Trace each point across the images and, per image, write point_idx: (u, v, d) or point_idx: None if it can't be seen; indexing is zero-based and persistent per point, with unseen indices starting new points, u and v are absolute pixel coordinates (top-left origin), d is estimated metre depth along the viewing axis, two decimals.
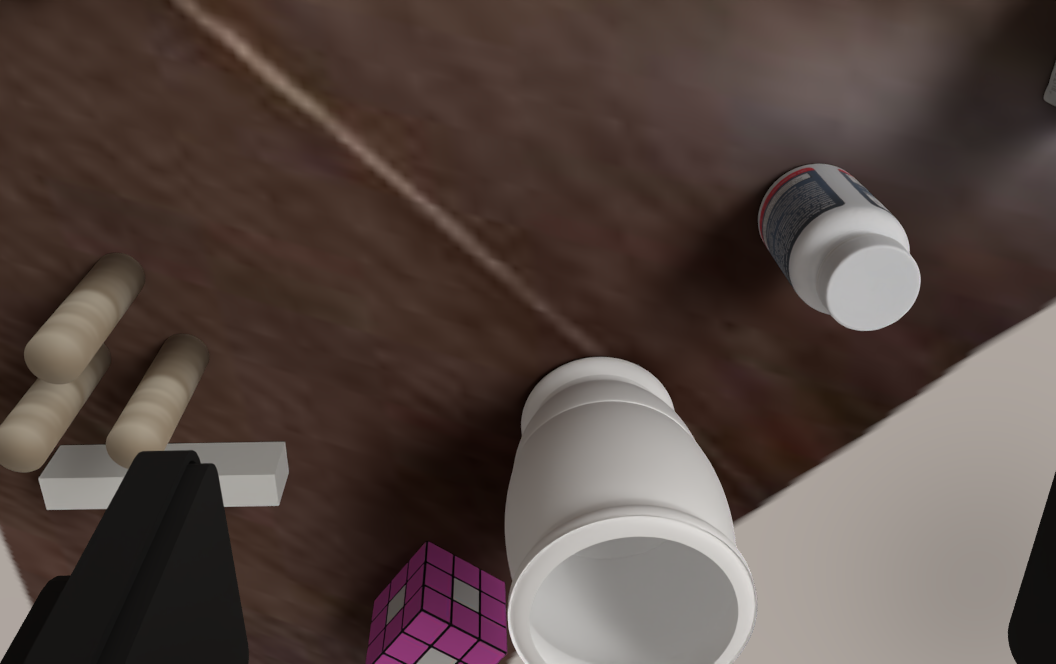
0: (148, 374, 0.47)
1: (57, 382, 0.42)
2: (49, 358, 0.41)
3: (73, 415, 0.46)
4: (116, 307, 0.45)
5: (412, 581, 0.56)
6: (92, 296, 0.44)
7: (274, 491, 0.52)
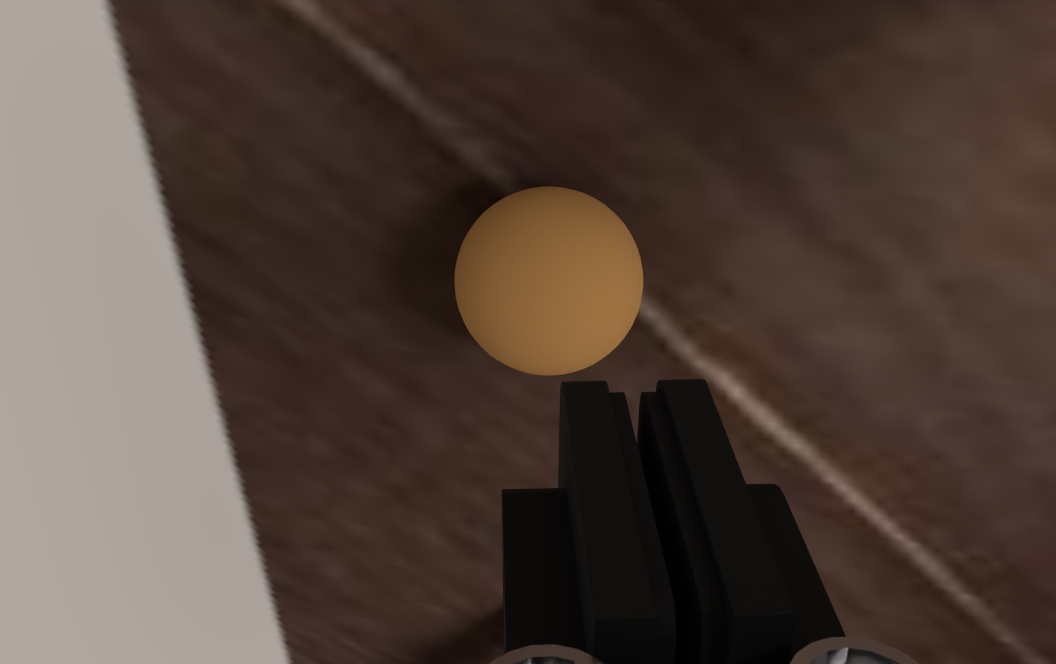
0: None
1: None
2: None
3: None
4: None
5: None
6: None
7: None
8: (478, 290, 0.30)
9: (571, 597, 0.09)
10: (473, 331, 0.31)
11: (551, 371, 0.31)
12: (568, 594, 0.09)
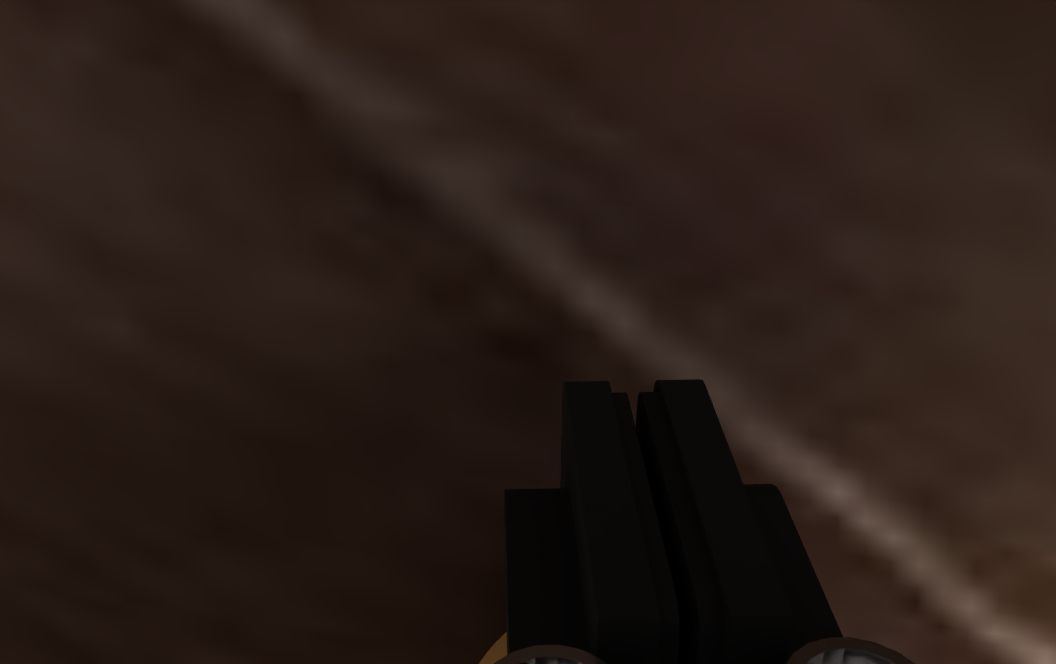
0: None
1: None
2: None
3: None
4: None
5: None
6: None
7: None
8: None
9: (574, 597, 0.09)
10: None
11: None
12: (571, 594, 0.09)
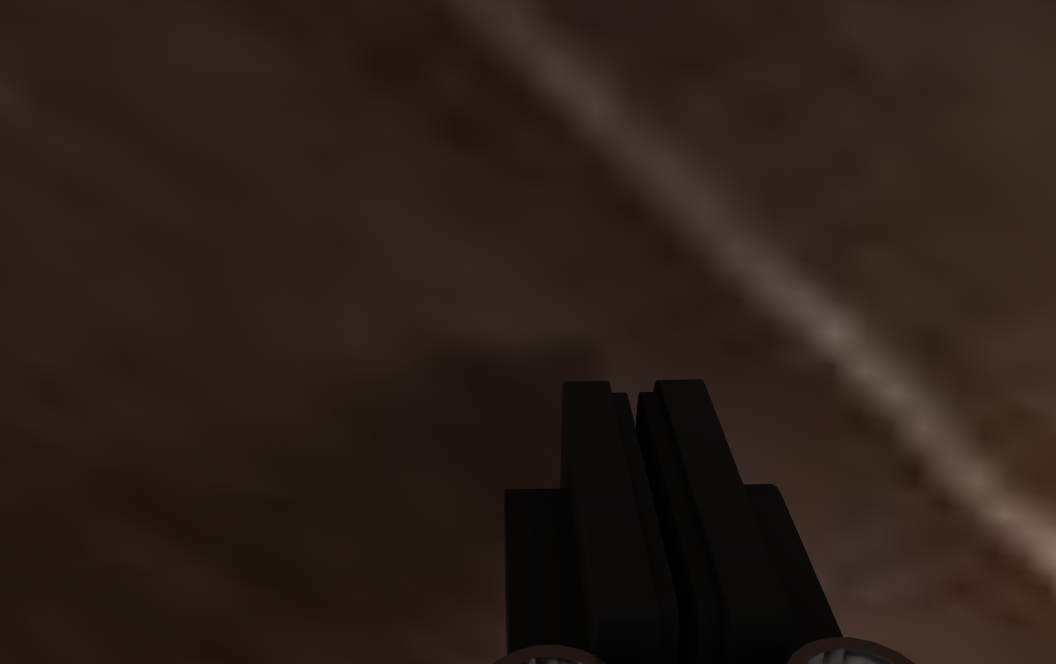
0: None
1: None
2: None
3: None
4: None
5: None
6: None
7: None
8: None
9: (574, 597, 0.09)
10: None
11: None
12: (571, 594, 0.09)
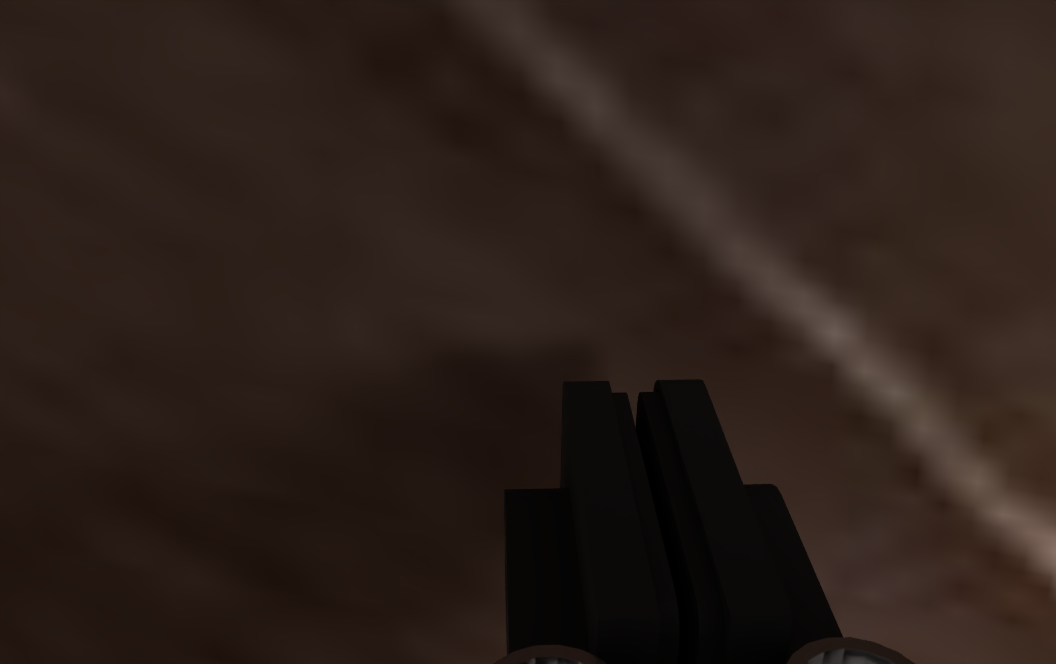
0: None
1: None
2: None
3: None
4: None
5: None
6: None
7: None
8: None
9: (574, 597, 0.09)
10: None
11: None
12: (571, 594, 0.09)
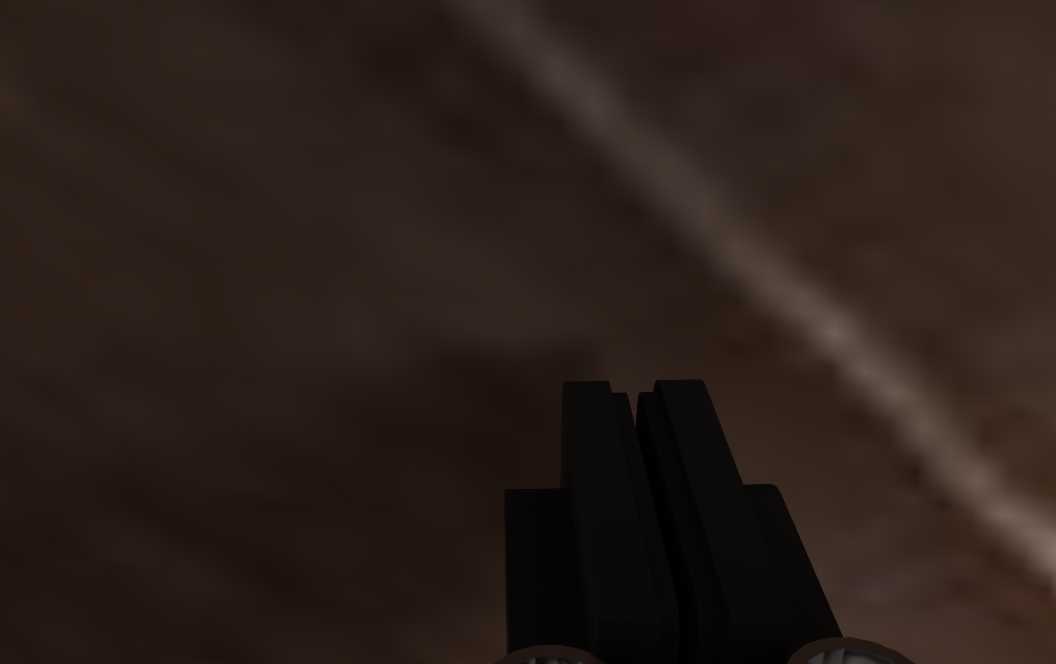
0: None
1: None
2: None
3: None
4: None
5: None
6: None
7: None
8: None
9: (574, 597, 0.09)
10: None
11: None
12: (571, 594, 0.09)
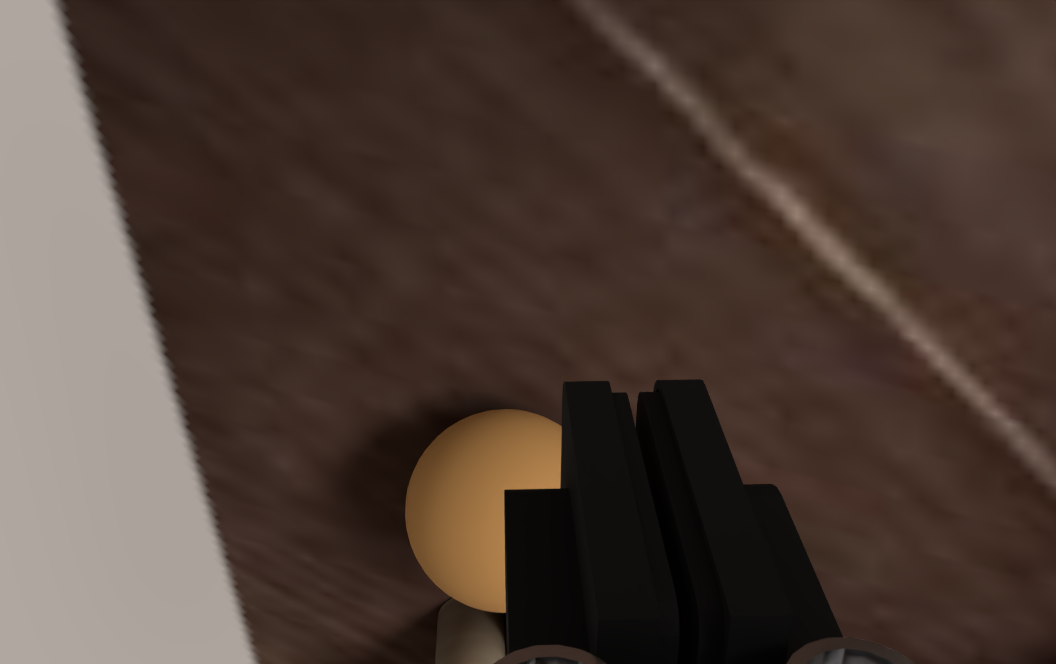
0: None
1: None
2: None
3: None
4: None
5: None
6: None
7: None
8: None
9: (574, 598, 0.09)
10: (426, 459, 0.29)
11: (506, 461, 0.27)
12: (571, 595, 0.09)
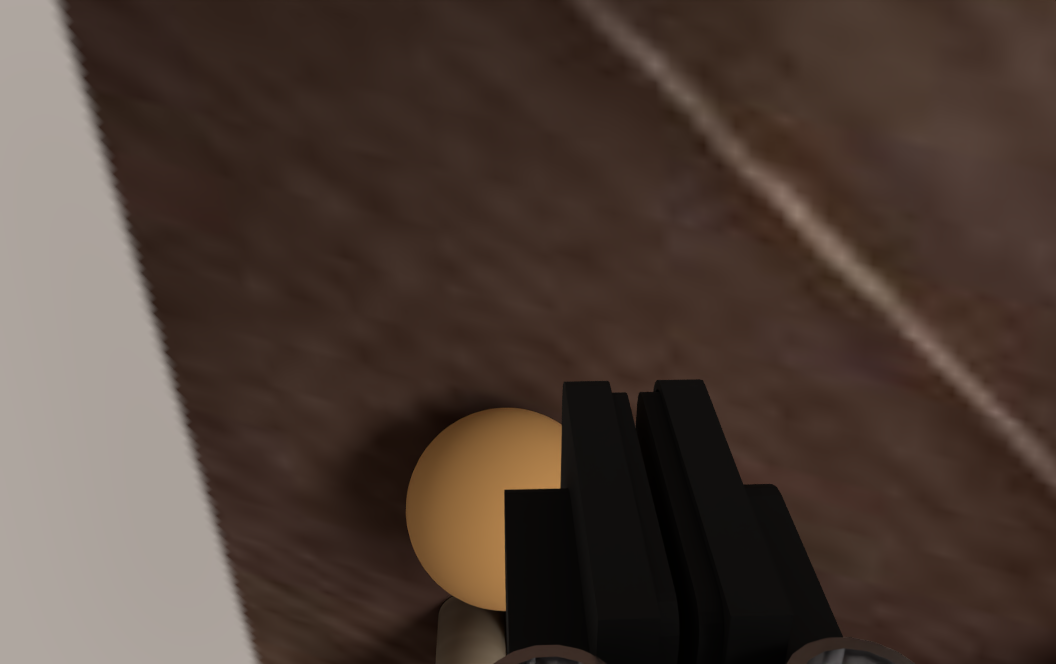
0: None
1: None
2: None
3: None
4: None
5: None
6: None
7: None
8: None
9: (574, 597, 0.09)
10: (427, 458, 0.29)
11: (507, 459, 0.27)
12: (571, 594, 0.09)
